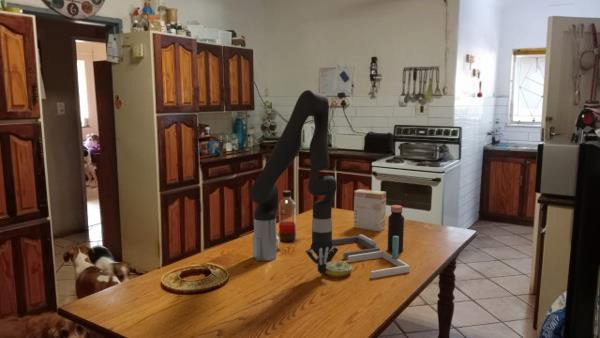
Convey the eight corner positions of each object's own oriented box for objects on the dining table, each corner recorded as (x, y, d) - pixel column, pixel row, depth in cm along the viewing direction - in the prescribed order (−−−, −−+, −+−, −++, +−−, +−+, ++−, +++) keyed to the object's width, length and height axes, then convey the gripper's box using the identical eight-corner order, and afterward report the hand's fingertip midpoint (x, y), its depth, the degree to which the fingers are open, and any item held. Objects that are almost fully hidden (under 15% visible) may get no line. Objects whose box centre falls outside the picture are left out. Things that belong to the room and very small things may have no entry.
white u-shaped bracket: (371, 278, 172) (372, 249, 171) (347, 261, 190) (348, 234, 188) (411, 271, 179) (412, 243, 177) (384, 255, 196) (385, 229, 195)
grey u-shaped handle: (344, 259, 193) (344, 248, 192) (325, 245, 210) (325, 236, 209) (380, 253, 199) (380, 243, 198) (358, 240, 216) (359, 231, 216)
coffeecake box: (385, 228, 236) (386, 191, 233) (380, 232, 230) (381, 194, 227) (359, 224, 244) (359, 188, 241) (353, 227, 238) (353, 190, 235)
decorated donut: (357, 273, 178) (357, 263, 177) (340, 281, 170) (340, 271, 170) (335, 266, 185) (336, 257, 184) (318, 273, 177) (318, 264, 177)
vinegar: (386, 251, 202) (387, 207, 198) (389, 246, 208) (390, 203, 205) (401, 253, 199) (403, 208, 196) (404, 248, 205) (405, 205, 202)
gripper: (333, 224, 178) (333, 267, 180) (301, 228, 173) (301, 271, 175) (342, 229, 171) (341, 274, 173) (309, 233, 166) (309, 279, 169)
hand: (321, 272), depth 174 cm, fingers closed
